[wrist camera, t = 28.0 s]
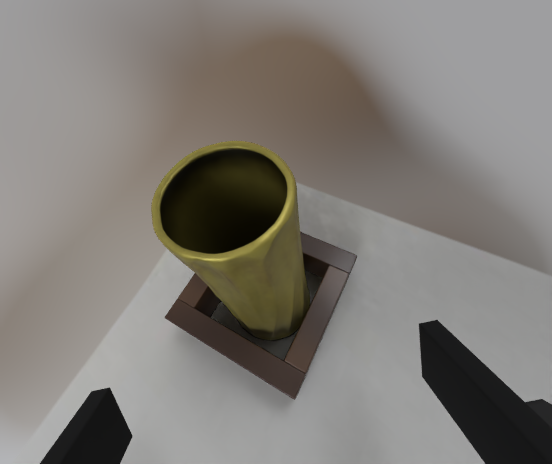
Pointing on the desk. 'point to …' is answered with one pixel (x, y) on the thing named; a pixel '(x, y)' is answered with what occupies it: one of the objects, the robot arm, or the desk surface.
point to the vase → (238, 232)
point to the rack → (280, 374)
